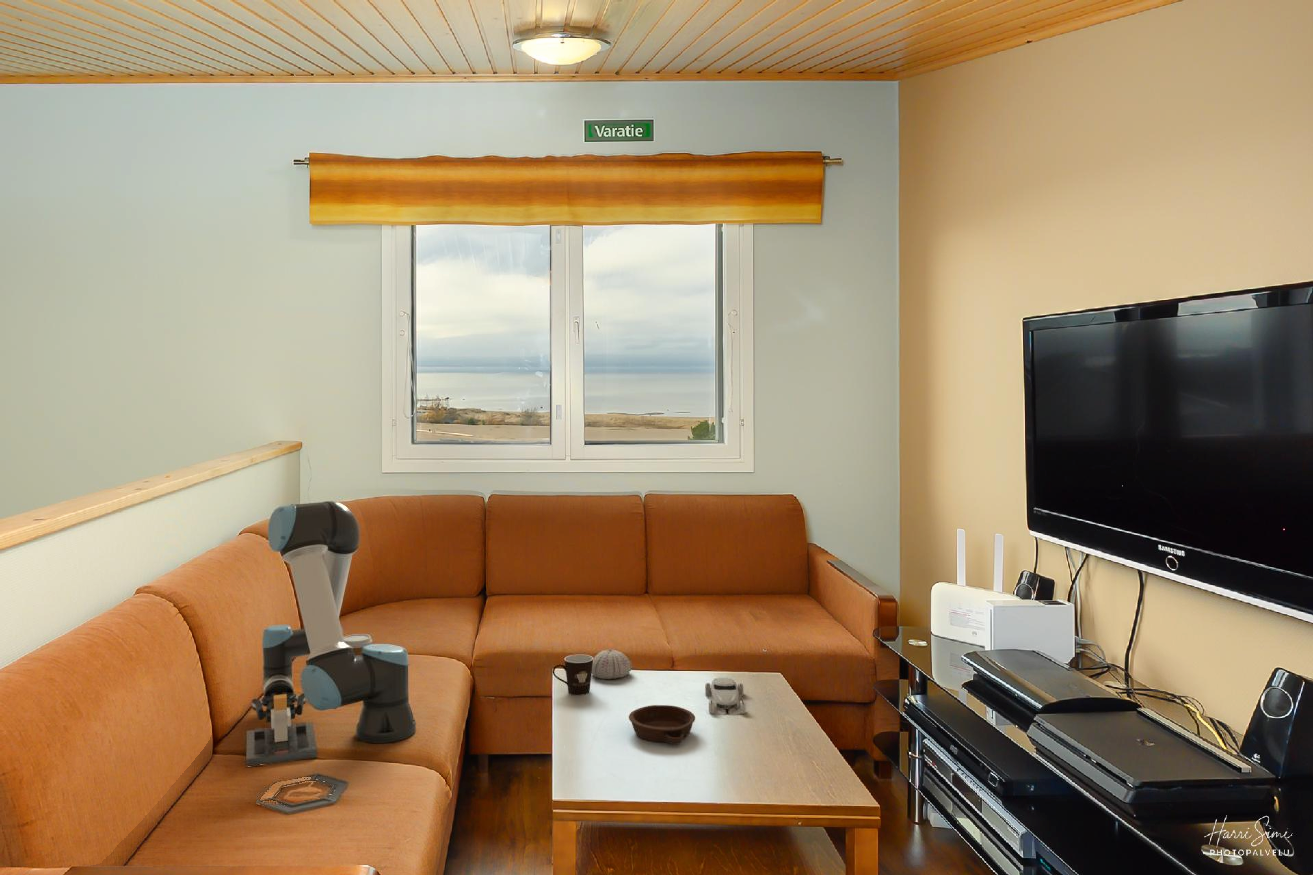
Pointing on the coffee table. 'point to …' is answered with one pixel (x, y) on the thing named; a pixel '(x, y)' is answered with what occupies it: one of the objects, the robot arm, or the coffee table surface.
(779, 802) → the coffee table surface
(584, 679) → the coffee mug
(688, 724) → the dish
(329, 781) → the hexagonal plaque
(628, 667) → the sea urchin shell
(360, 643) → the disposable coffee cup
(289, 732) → the panel
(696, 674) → the coffee table surface
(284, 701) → the breaker lever
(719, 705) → the car model
